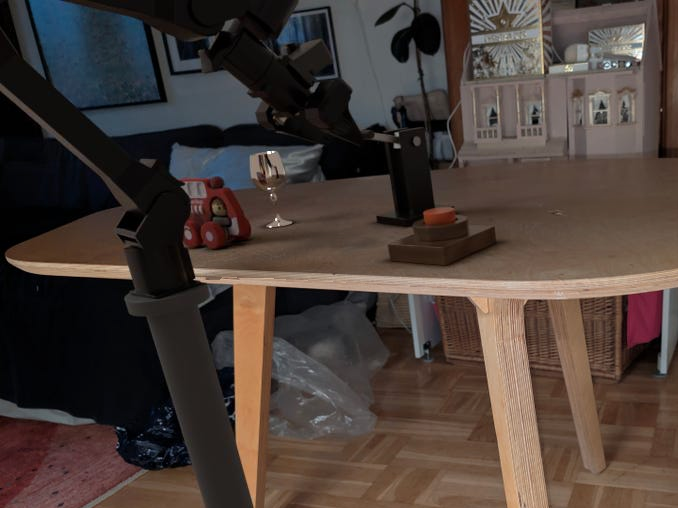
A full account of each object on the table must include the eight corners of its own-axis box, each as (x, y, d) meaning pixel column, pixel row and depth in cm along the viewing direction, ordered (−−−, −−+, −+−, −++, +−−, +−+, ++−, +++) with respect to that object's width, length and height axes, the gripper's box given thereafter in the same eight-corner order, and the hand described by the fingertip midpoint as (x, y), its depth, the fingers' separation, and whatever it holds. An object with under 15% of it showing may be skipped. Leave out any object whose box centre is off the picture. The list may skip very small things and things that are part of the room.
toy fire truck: (229, 250, 106) (211, 180, 102) (176, 247, 112) (158, 181, 108) (263, 239, 111) (248, 172, 107) (211, 237, 117) (195, 173, 113)
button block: (445, 265, 84) (441, 232, 83) (390, 260, 89) (385, 229, 88) (496, 242, 92) (493, 212, 91) (442, 239, 97) (439, 210, 96)
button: (443, 228, 87) (441, 214, 86) (418, 227, 89) (416, 213, 88) (462, 221, 90) (460, 207, 89) (438, 220, 92) (436, 206, 91)
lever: (367, 142, 102) (368, 125, 101) (348, 142, 105) (349, 125, 105) (421, 150, 109) (422, 134, 108) (402, 150, 112) (403, 134, 112)
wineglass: (255, 228, 120) (238, 156, 116) (276, 220, 125) (261, 151, 121) (282, 228, 118) (266, 154, 114) (302, 220, 123) (288, 149, 118)
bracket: (406, 226, 108) (392, 133, 103) (376, 222, 114) (362, 134, 108) (455, 213, 114) (444, 124, 109) (424, 210, 120) (413, 125, 114)
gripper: (325, 8, 86) (409, 94, 97) (256, 26, 99) (337, 100, 110) (281, 84, 84) (372, 162, 95) (217, 92, 97) (303, 160, 108)
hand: (345, 143), depth 102 cm, fingers open, 9 cm apart
